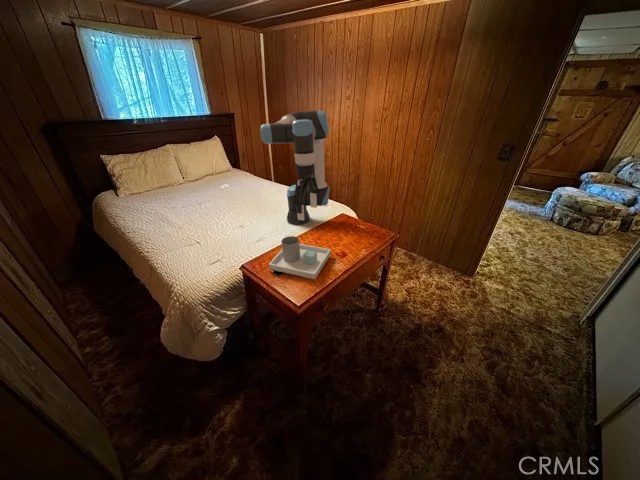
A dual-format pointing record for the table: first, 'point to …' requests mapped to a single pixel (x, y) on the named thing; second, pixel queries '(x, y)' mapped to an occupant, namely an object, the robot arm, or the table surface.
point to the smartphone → (278, 272)
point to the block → (310, 257)
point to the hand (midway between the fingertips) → (307, 213)
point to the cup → (291, 249)
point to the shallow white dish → (301, 262)
